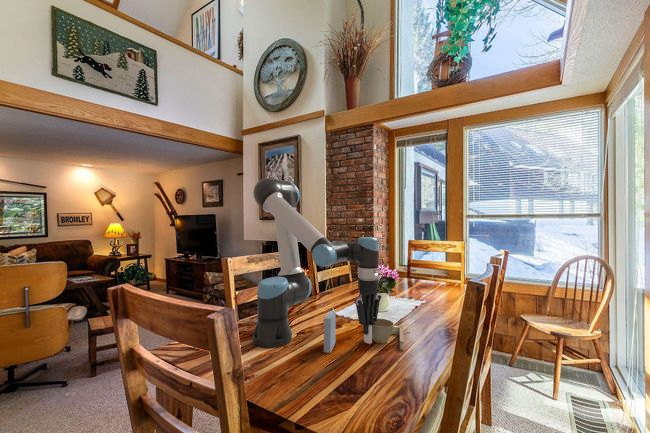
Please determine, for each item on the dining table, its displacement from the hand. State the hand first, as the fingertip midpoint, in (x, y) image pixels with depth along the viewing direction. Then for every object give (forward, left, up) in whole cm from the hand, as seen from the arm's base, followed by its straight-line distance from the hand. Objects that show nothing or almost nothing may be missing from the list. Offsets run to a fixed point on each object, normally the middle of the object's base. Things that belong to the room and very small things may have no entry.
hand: (368, 342), depth 110 cm
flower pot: (+4, +6, -2) cm, 8 cm away
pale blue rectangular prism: (-14, -4, -2) cm, 14 cm away
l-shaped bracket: (+5, +8, -2) cm, 10 cm away
